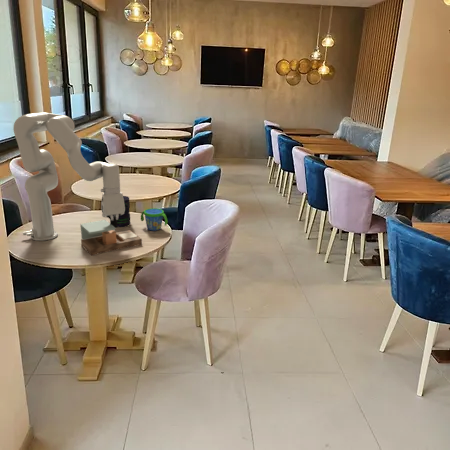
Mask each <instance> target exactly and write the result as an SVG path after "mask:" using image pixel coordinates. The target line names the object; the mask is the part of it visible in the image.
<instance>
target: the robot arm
mask: <svg viewBox="0 0 450 450" xmlns="http://www.w3.org/2000/svg"><path fill="white" fill-rule="evenodd" d="M13 123H14V124H13V129H12V130H13V134H14V136H15V141H16V142H17V143H16V144H17V146H18V149H19V154H20V159H21V161H22V166H23V167H24V170H25V171H27V172H28V173H36V172H38V173H36V174H32V175H31V176H29V177H28V178H27V179H26V180H25V183H24V187H25V191H26V194H27V199H28V201H29V209H30V216H31V223H32V225H31V226H32V227H31V229H30V230H26V231H22V236H27V237H30V239H31V240H33V241H36V242H37V241H38V242H39V241H41V242H42V241H49V240H53V239H55V238H56V237H58V231H56V230H55V227H54V218H53V217H54V216H53V210H52V203H51V198H50V197H49V195H48V192H49V191H53V190H54V189H55V188H57V186H58V185H59V177H58V175H59V174H58V171H57V167H56V164H55V162H56V161H55V159H54V157H53V155H52V153H50V151H49V150H47V149H40V147H39V143H38V140H37V137H35V136H34V134H36V133H40V132H45V131H47V132H48V133H49V134H50V135H51V136H52V138H53V139H54V140H55V141H56V142H57V143H58V145H60V147H61V148H63V150H64V151H65V152H66V154H67V158H68V161H69V164H70V166H71V168H72V169H73V170H74V171H75V172H76V173H77V174H78V176H79V177H80V178H81V179H83V180H84V181H86V182H93V181H96V180H97V179H100V178H102V185H103V186H102V188H101V189H100V192H101V193H102V195H101V213H102V214H101V217H102V218H108V219H109V221H110V222H109V223H110V224H111V225H112V226H114V227H115V229H116V228H118V227H117V225H118V223H117V220H118V218H119V216H120V215H123V214H124V212H125V204H124V198H123V196H124V194H123V192H122V191H121V179H120V167H119V166H120V165H119V164H117V163H113V162H112V163H111V162H109V163H107V162H103V161H100V160H99V161H93V162H91V163H89V162H88V161H87V160H86V159H85V158H84V156H83V154H82V151H81V146H82V145H83V142H82V139H81V138H79V135H77V134H76V133H75V132H74V130H75V128H76V127H75V122H74V121H73V119H72V118H71V117H70V116H67V115H63V114H57V113H51V112H45V111H43V112H33V113H26V114H22V115H20V116H19V117H17V119H16V120H15V121H14V122H13ZM113 215H114V218H113Z"/></svg>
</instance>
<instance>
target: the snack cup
mask: <svg viewBox="0 0 450 450" xmlns="http://www.w3.org/2000/svg"><path fill="white" fill-rule="evenodd" d="M163 219H164V227H166V226H167V225H168V222H169V221H168V218H167V215H166V213H165V212H164V210H163V209H161V208H154V207H153V208H146V209H144V210H143V211H142V212H141V214H140V221H141V222H143V221H145V224H146V229H147V231H153V232H155V231H159V230H161V229H162V224H163Z"/></svg>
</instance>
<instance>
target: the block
mask: <svg viewBox="0 0 450 450" xmlns="http://www.w3.org/2000/svg"><path fill="white" fill-rule="evenodd" d="M116 233H117V232H116V231H115V230H111V231H106V232H102V237H103V243H104V244H105V245H108V244H112V243H117V240H116Z"/></svg>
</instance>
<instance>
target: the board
mask: <svg viewBox="0 0 450 450" xmlns="http://www.w3.org/2000/svg"><path fill="white" fill-rule="evenodd" d="M116 240H117V243H112V244H108V245H105V244H104V243H103V237H102V236H98V237H93V238H88V239H83V240H82V238H81V239H80V243H81V246H82V248H84V250H85V251H86V252H88V253H89V255H90V256H94V255H99V254H104V253H107V252H108V253H109V252H114V251H119V250H123V249H127V248H132V247H136V246H141V245H143V242H142V241H143V240H142V237H140V236H138V234H136V233H135V232H133V231H132V230H130V229H129V230H124V231H123V230H122V231H118V232H116Z"/></svg>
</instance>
